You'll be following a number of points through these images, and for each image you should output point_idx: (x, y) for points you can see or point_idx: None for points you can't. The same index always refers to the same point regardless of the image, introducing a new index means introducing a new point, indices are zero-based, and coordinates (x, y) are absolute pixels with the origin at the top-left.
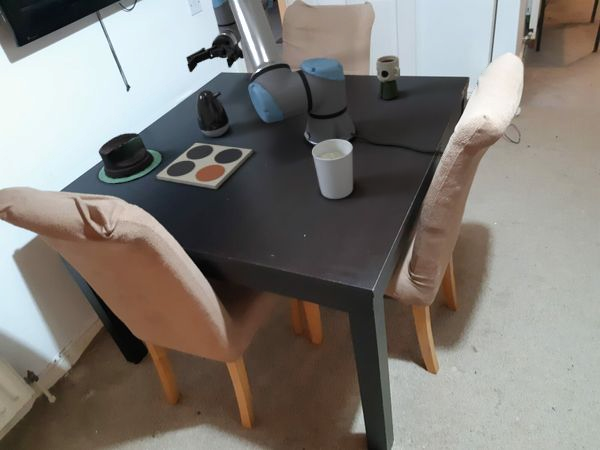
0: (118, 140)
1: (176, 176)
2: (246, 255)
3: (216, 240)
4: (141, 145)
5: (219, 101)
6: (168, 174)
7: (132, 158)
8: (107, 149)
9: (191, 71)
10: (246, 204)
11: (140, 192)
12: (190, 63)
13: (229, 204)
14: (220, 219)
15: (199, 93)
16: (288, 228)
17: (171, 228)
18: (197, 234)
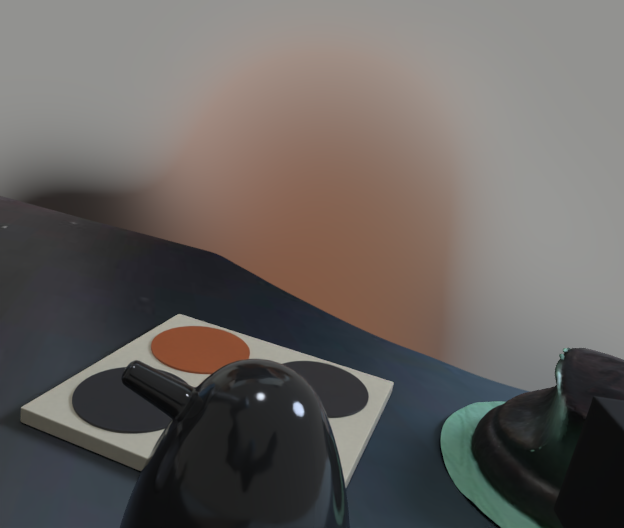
0: (609, 370)
1: (316, 363)
2: (116, 230)
3: (168, 251)
4: (545, 432)
5: (149, 459)
6: (348, 372)
7: (526, 405)
8: (606, 355)
9: (560, 505)
10: (99, 281)
11: (409, 363)
12: (617, 437)
13: (141, 289)
14: (162, 272)
15: (304, 380)
16: (27, 237)
17: (265, 280)
18: (206, 263)
